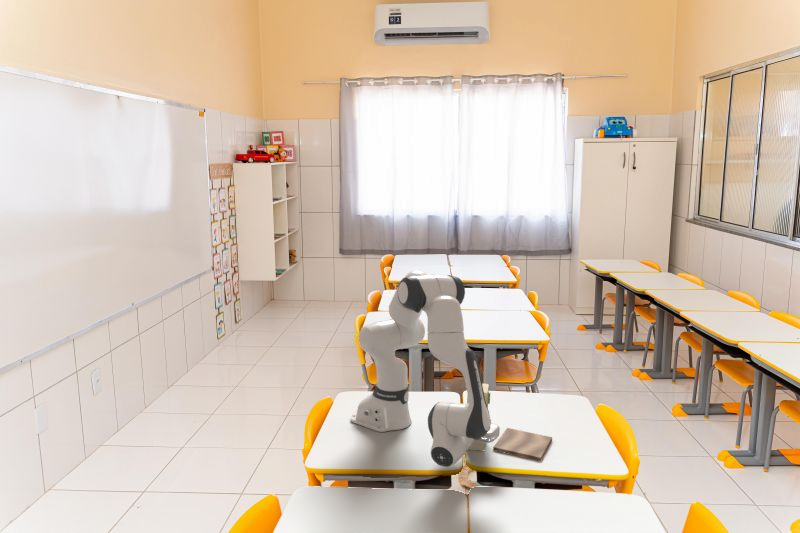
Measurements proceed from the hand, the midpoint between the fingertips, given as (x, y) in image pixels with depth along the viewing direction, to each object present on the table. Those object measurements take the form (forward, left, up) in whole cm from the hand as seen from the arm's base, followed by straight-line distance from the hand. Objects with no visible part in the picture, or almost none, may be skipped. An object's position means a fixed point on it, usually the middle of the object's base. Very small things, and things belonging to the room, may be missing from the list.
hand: (475, 418), depth 211 cm
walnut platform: (+14, +9, -11) cm, 20 cm away
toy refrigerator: (0, +2, -11) cm, 11 cm away
